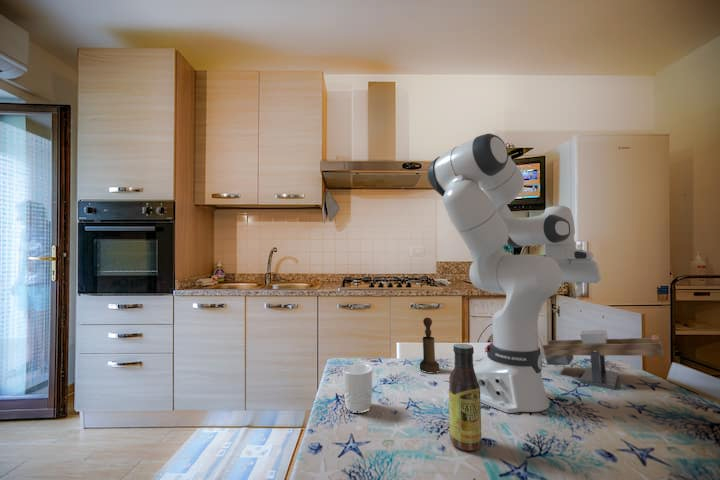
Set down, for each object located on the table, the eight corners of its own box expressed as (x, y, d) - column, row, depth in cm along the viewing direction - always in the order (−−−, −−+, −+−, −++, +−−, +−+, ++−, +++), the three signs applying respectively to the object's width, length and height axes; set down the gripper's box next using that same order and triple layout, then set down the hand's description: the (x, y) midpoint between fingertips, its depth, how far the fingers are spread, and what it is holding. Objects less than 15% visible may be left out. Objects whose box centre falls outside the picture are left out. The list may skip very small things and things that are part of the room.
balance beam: (547, 365, 101) (541, 343, 102) (553, 357, 108) (548, 337, 110) (668, 367, 82) (659, 340, 83) (666, 358, 89) (658, 333, 91)
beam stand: (580, 382, 93) (578, 350, 94) (587, 370, 103) (585, 341, 104) (614, 389, 88) (611, 355, 88) (618, 375, 98) (615, 345, 99)
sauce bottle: (464, 456, 60) (459, 351, 61) (443, 439, 65) (439, 344, 67) (490, 447, 62) (484, 347, 64) (467, 432, 68) (463, 340, 69)
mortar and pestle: (442, 369, 108) (439, 316, 109) (435, 375, 102) (433, 320, 104) (423, 366, 111) (421, 315, 113) (417, 371, 106) (415, 318, 107)
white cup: (377, 404, 83) (376, 365, 83) (366, 417, 75) (365, 375, 76) (351, 399, 86) (350, 362, 87) (337, 412, 79) (337, 371, 79)
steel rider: (584, 349, 96) (580, 334, 97) (587, 345, 100) (583, 330, 101) (608, 349, 92) (603, 333, 93) (610, 344, 96) (605, 330, 97)
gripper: (524, 255, 109) (526, 295, 108) (596, 253, 95) (600, 298, 94) (529, 255, 113) (531, 293, 112) (599, 253, 99) (602, 296, 98)
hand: (563, 295), depth 103 cm, fingers open, 5 cm apart
